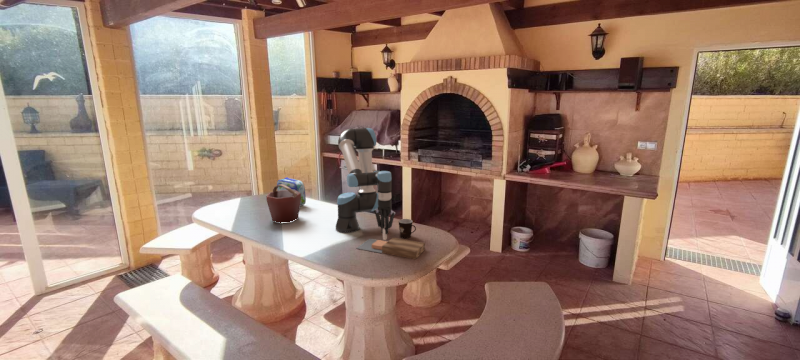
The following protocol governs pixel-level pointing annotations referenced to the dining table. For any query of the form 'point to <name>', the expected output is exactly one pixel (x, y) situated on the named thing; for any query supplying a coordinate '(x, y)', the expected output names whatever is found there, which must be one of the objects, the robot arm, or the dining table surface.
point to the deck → (403, 248)
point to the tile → (378, 244)
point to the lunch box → (293, 187)
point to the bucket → (284, 204)
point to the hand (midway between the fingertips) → (384, 238)
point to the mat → (369, 246)
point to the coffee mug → (405, 228)
